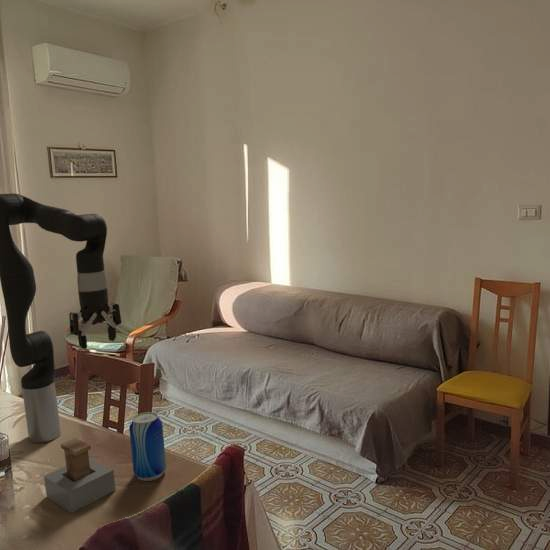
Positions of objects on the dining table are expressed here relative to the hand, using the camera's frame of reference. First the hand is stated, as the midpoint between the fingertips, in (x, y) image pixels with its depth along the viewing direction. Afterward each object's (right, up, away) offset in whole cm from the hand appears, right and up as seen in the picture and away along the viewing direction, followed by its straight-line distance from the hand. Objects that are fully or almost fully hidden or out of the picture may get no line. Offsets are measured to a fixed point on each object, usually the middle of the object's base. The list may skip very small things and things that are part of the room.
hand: (98, 344), depth 149 cm
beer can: (+16, -34, -7) cm, 38 cm away
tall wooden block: (+1, -35, -15) cm, 38 cm away
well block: (+1, -36, -15) cm, 38 cm away
